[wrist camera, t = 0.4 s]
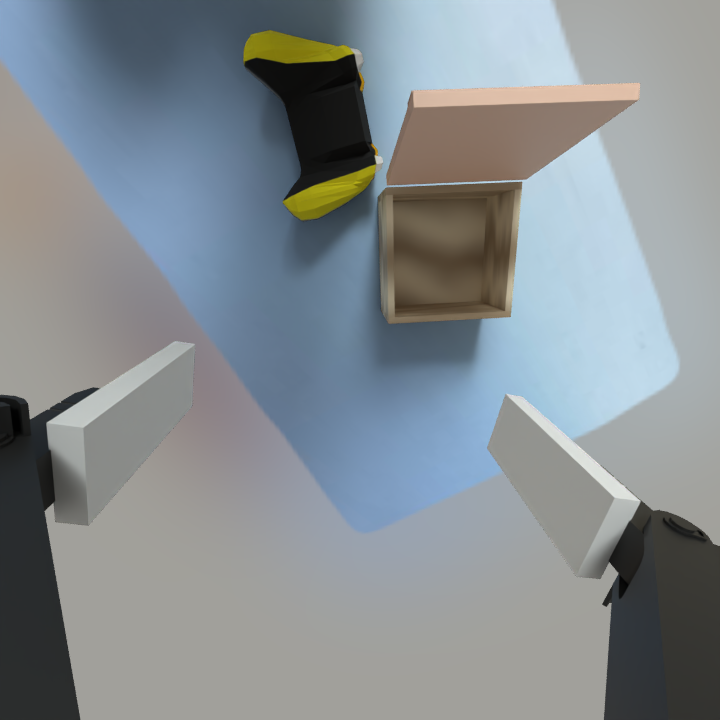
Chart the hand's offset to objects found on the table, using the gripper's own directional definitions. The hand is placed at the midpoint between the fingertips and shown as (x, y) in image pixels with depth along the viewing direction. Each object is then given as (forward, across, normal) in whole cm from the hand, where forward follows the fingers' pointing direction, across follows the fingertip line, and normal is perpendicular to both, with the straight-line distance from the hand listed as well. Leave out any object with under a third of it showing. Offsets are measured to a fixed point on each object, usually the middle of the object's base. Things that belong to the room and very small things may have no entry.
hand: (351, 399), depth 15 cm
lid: (+14, +7, +14) cm, 21 cm away
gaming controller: (+28, -5, +15) cm, 32 cm away
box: (+27, +9, +6) cm, 29 cm away
